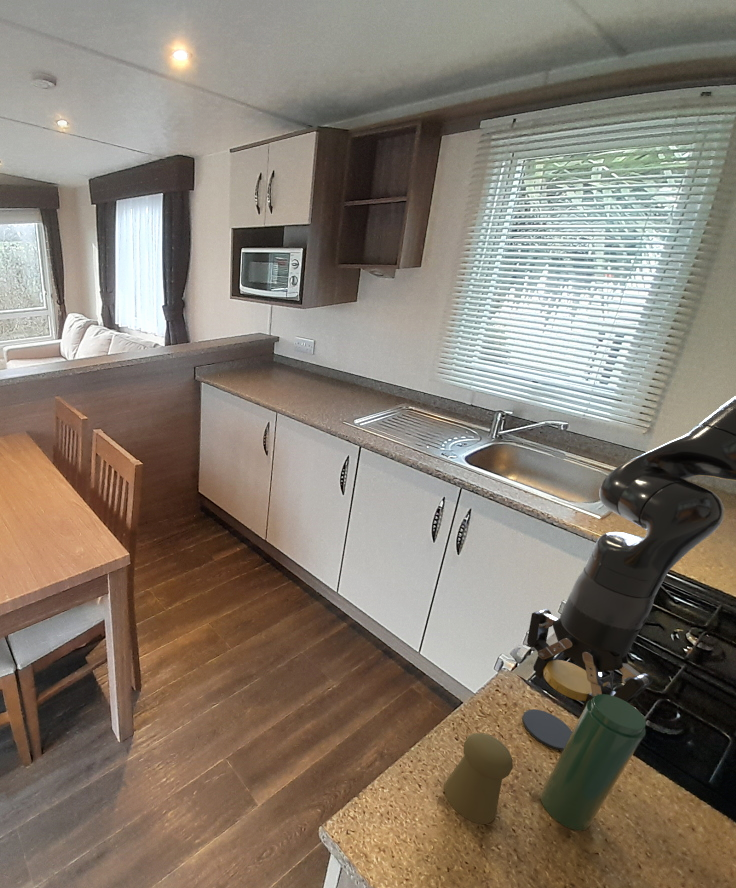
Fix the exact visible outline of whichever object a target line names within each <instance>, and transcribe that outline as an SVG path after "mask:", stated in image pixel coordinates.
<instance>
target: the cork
mask: <svg viewBox="0 0 736 888" xmlns="http://www.w3.org/2000/svg"><path fill="white" fill-rule="evenodd" d="M513 766H514V763H513V757H512V755H511V752H510V750H509V749H508V747H507V746H506V745H505V744H504V743H502V741H500V739H498V738H496V737H494V736H493V735H491V734H488V733H484V732H474V733H472V734H470V735H468V736H467V737H466V739H465V740H464V743H463V757H462V758H461V760H460V761H459V762H458V763H457V765H456V766H455V768H454V769H453V771H452V772H451V773H450V775H449V776H448V778H447V779H446V781H445V782H444V785H443V786H444V787H443V791H444V795H445V798H446V800H447V802H448V803H449V805H450V806H451V807H452V808H453V809H454V810H455V812H456V813H458V814H459V815H460V816H461V817H462V818H464V819H466V820H468V821H470V822H472V823H475V824H480V825H487V824H488V825H489V824H491V823H492V822H493V821H494V820H495V818H496V817H497V811H498V805H499V798H500V794H501V788H502V782H503V780H504V779H506V778H507V777H509V776H510V774H511V772H512V770H513V768H514V767H513Z"/></svg>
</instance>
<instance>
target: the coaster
mask: <svg viewBox="0 0 736 888" xmlns="http://www.w3.org/2000/svg"><path fill="white" fill-rule="evenodd" d="M521 720H522V724H523V726H524V728H525V730H526V731H527V732H528V733H529V735H531V736H532V737H533V738H534V739H535V740H536V741H538V742H540V743H541V744H543V745H544V746H546V747H548V748H551V749H553V750H557V751H563V749H564V747H565V745H566V743H567V741H568V739H569V737H570V735H571V733H572V731H573V730H571V728H570V727H569V726H568V725H567V724H566V723H565V722H564V721H563V720H561V719H560V718H559V717H557V716H555V715H553V714H552V713H549V712H547V711H545V710H541V709H528V710H526V711H524V713H523V714H522V718H521Z"/></svg>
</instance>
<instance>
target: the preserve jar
mask: <svg viewBox="0 0 736 888" xmlns="http://www.w3.org/2000/svg"><path fill="white" fill-rule="evenodd" d="M646 726H647V721H646V718H645V717H644V715H643V714H642V713H641V712H640V711H639V710H638V709H637V708H636V707H635V706H633V705H632V704H630V703H627V702H626V701H624V700H622V699H620V698H617V697H615V696H612V695H607V694H599V695H596V696H593V698H592V699H591V700H589V701H588V702H587V704H586V706H585V708H584V710H583V712H581V714H580V716H579V718H578V720H577V722H576V724H575V726H574V727H573V730H571V731H572V733H571V735H570V737H569V739H568V741H567V743H566V745H565V747H564V749H563V750H561V753H560V755H559V757H558V759H557V761H556V762H555V764H554V767H553V768H552V771H551V773H550V774H549V776H548V778H547V779H546V782H545V784H544V786H543V788H542V790H541V792H540V795H539V797H540V801H541V805H542V806H543V808H544V809H545V810H546V812H547V813H548V814H549V815H550V816H551V817H552V818H553V819H554V820H555V821H556V822H558V823H559V824H561V825H562V826H564V827H567V828H568V829H571V830H574V831H580V832H581V831H586V830H588V829H589V828H590V826H591V825H592V823H593V821H594V820H595V818H596V816H597V815H598V813H599V812H600V810H601V809H602V806H604V805H603V804H604V803H605V802H606V800H607V798H608V797H609V795H610V793H612V792H611V791H612V790H613V788H614V787H615V785H616V783H618V780H620V777H621V775H622V773H623V772H624V770H625V769H626V767H627V766H628V764H629V762H630V761H631V759H632V757H633V755H635V752H636V750H638V747H639V745H640V744H641V743H642V741H643V740H644V738H645V735H646Z"/></svg>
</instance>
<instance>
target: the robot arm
mask: <svg viewBox="0 0 736 888" xmlns="http://www.w3.org/2000/svg"><path fill="white" fill-rule="evenodd" d="M693 477H711V478H717V479H721V480H727V481H728V480H729V481H736V395H735V396H733V397H732V398H730V399H729V400H728V401H726V402H725V403H723V404H721V406H720V407H718V408H717V409H716V410H713V412H712V413H710V414H709V415H708V416H707V417H706V418H704V419H703V420H701V422H699V423H698V424H696V425H695V426H694V427H693V428H692V429H690V430H689V431H688V432H687V433H685V434H684V435H681V436H680V437H678V438H677V437H676V438H675V439H673V440H670V441H668V442H666V443H664V444H662V445H659V446H658V447H656V448H654V449H651V450H649V451H647V452H645V453H643V454H641V455H639V456H636V457H634V458H632V459H629V460H628V461H626V462H624V463H622V464H620V465H619V466H617V467H616V468H614V469H613V470H612V471H611V472H610V473H608V474H607V475H606V477H604V479H603V481H602V483H601V485H600V488H599V490H598V491H599V493H598V496H599V501H600V503H601V504H602V505H603V506H604V507H605V508H606V509H607V510H609V511H610V512H612V513H614V514H615V515H617V516H619V517H622V518H623V519H625V520H627V521H629V522H630V523H633V524H634V525H636V526H638V527H639V528H642V529H644V530H645V531H646V534H645V536H641V535H637V534H633V533H629V532H626V531H625V532H624V531H609V532H605V533H603V534H602V535H600V536H599V537H598V538H597V540H596V541H595V542H594V543H595V544H594V545H593V547H592V550H591V552H590V554H589V556H588V559H587V560H586V563H585V565H584V567H583V569H582V571H581V572H580V574H578V576H577V577H576V579H575V581H574V584H573V586H572V589H571V591H570V593H569V595H568V597H567V600H566V601H565V604H564V607H563V608H562V611H561V613H560V615H559V618H558V617H556V616H553V615H552V612H551V611H550V610H549V609H547V608H543V609H540V610H537V611H535V612H534V611H533V612H532V613H531V615H530V616H531V617H530V622H529V628H528V633H527V637H526V639H527V640H526V644H527V645H528V646H529V647H531V648H533V649H534V650H536V652H537V657H536V659H535V662H534V664H533V667H532V668H533V671H534V672H535V673H534V676H535V677H537V678H538V679H539V680H541V679H545V678H544V674H543V672H544V671H543V670H544V668H545V667H546V665H547V663H548V662H550V661H552V660H557V657H555V656H557V655H559V654H561V653H563V654H562V655H563V656H565V657H566V658H567V659H569V660H571V661H574V662H575V663H576V664H577V665H578V666H579V667H580V668H582V669H584V670H585V671H586V673H587V680H588V681H589V682H590V683H591V690H592V693H590V694H589V695H588V697H587V699H586V701H584V703H583V704H582V706H581V708H580V712H581V713H582V712H583V710H584V708H585V706H586V704H587V702H588V701H589V700H591V699H592V698H593V696H596V695H599V694H607V695H612V696H615V697H617V698H620V699H622V700H624V701H626V702H627V703H629V704H630V703H632V702H633V701H634V700H635V699H636V698H637V697H638V696H640V694H642V692H644V691H645V690H646V689H647V688H648V687H649V686H650V685H651V684H652V683H653V682H654V680H653V678H652V676H651V675H649V674H648V673H645V672H643V673H640V672H639V671H638V670H636V669H635V668H634V667H632V666H631V665H630V664H629V660H628V653H629V652H630V650H631V648H632V646H633V644H634V643H635V641H636V639H637V637H638V635H639V634H640V632H641V629H642V628H643V626H644V624H646V623H647V621H648V619H649V616H650V613H651V611H652V609H653V605H654V602H655V599H656V596H657V594H658V592H659V590H660V588H661V586H662V585H663V582H664V581H665V579H666V578H667V575H668V573H669V571H671V569H672V568H673V567H675V565H676V564H677V563H678V562H679V561H680V560H681V559H683V558H684V557H685V556H686V555H687V554H688V553H690V551H692V550H693V549H694V548H695V547H696V546H698V545H699V544H700V543H702V542H703V541H704V540H706V539H707V538H708V537H710V535H712V534H713V533H714V532H715V531H716V530H717V529H718V528H719V527H720V525H721V524H722V523H723V520H724V517H725V506H724V504H723V501H722V499H721V497H719V496H718V495H717V493H715V492H714V491H712V490H711V489H708V488H707V487H703V486H702V485H699V484H697V483H694V482H691V481H689V480H687V479H691V478H693ZM551 627H552V629H553V631H554V635H555V637H556V640H557V642H554V643H551V644H550V645H549V643H547V641H548V636H549V635H548V634H549V629H550V628H551ZM615 671H620V672H621V675H622V676H621V683H622V684H623V685H622V686H621V687H620V688H619V689H618V690H617V691H615V690H614V689H615V688H614V684H613V683H614V682H613V681H614V680H615V673H614V672H615Z"/></svg>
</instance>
